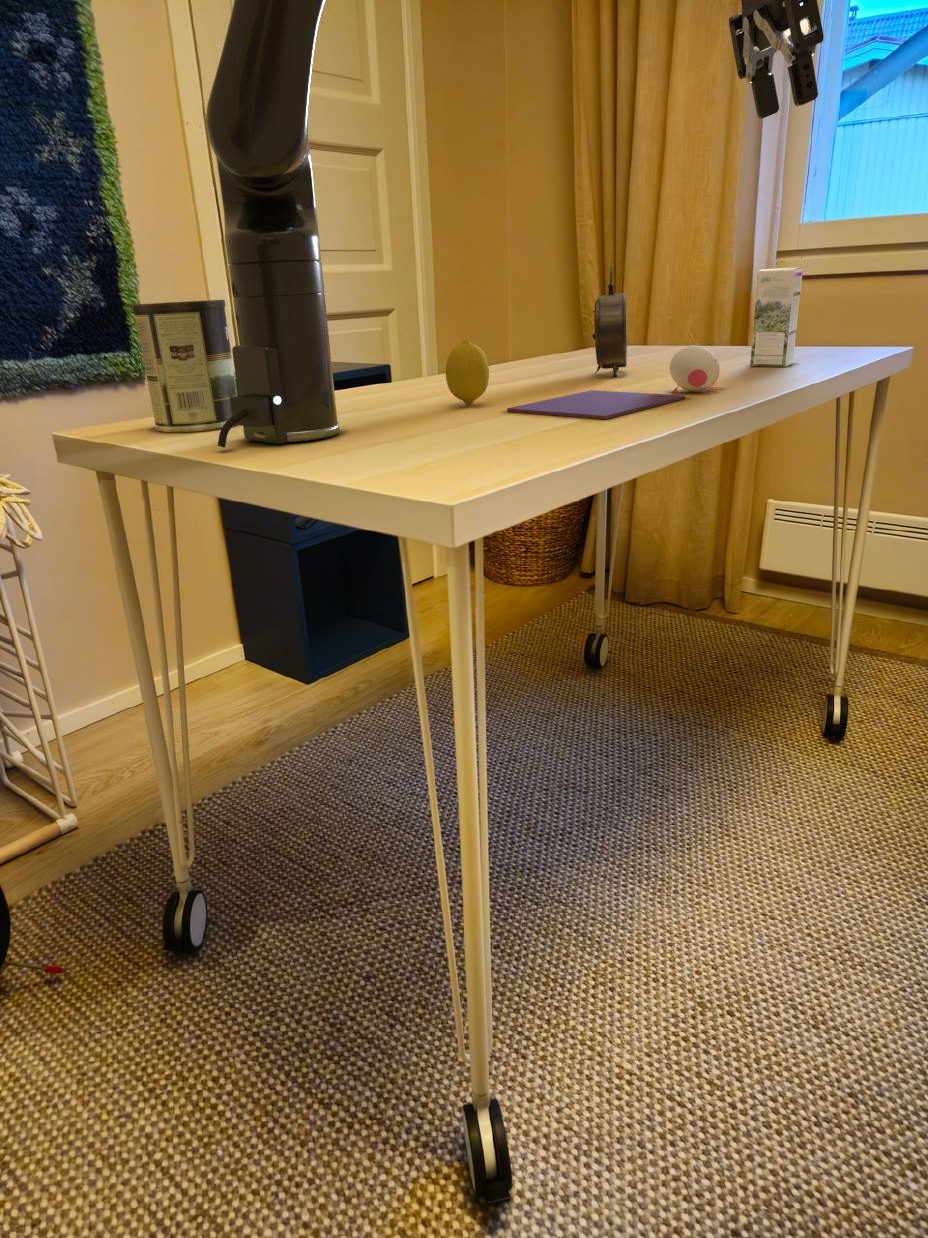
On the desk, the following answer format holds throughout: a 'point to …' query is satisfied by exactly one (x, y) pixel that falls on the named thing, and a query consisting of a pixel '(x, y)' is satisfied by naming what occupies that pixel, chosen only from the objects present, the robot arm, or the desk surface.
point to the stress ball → (694, 368)
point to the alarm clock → (610, 330)
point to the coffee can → (187, 363)
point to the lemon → (467, 372)
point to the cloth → (596, 404)
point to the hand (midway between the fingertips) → (787, 109)
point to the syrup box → (775, 316)
